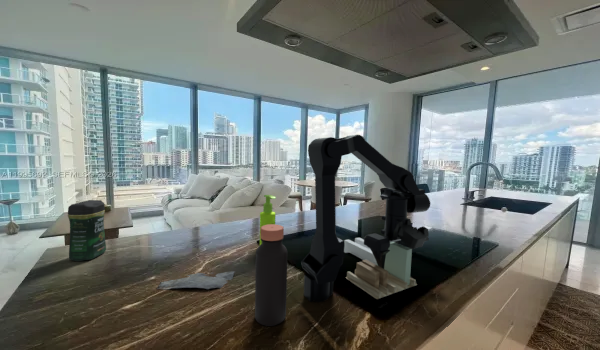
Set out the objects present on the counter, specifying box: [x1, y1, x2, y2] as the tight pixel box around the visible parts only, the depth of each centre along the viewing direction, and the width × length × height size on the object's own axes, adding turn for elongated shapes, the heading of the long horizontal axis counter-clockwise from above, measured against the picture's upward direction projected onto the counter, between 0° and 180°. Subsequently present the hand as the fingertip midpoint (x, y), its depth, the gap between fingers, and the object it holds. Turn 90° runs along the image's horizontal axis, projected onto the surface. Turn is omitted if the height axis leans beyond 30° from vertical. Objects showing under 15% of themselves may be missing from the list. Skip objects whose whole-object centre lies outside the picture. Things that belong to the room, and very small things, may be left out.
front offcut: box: [355, 261, 380, 290], centre depth 67 cm, size 2×7×5 cm, turn 29°
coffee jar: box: [67, 199, 107, 262], centre depth 82 cm, size 10×8×19 cm
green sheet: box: [377, 241, 413, 285], centre depth 71 cm, size 2×10×10 cm, turn 29°
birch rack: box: [345, 269, 418, 300], centre depth 69 cm, size 16×12×2 cm
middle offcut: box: [361, 259, 388, 288], centre depth 68 cm, size 2×8×5 cm, turn 29°
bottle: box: [254, 223, 288, 327], centre depth 54 cm, size 7×7×20 cm
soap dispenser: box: [259, 194, 277, 246], centre depth 95 cm, size 6×7×20 cm
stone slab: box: [156, 271, 235, 290], centre depth 69 cm, size 18×2×10 cm
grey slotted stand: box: [343, 237, 377, 265], centre depth 87 cm, size 7×16×4 cm, turn 29°
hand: (392, 267), depth 72 cm, fingers open, 9 cm apart
